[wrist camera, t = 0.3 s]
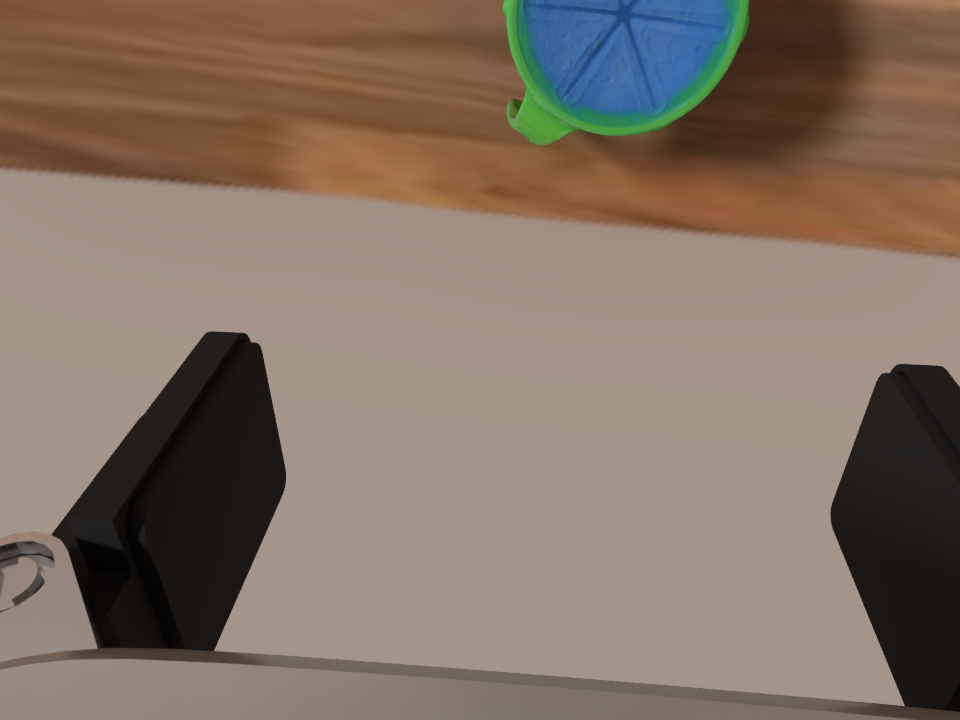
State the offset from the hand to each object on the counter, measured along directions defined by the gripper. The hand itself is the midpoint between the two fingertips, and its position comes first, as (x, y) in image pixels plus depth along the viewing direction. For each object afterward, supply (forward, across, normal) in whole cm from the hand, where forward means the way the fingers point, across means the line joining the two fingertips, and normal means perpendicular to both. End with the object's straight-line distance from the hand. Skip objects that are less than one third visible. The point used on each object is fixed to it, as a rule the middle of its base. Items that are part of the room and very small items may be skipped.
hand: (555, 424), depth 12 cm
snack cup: (+37, -3, -2) cm, 37 cm away
